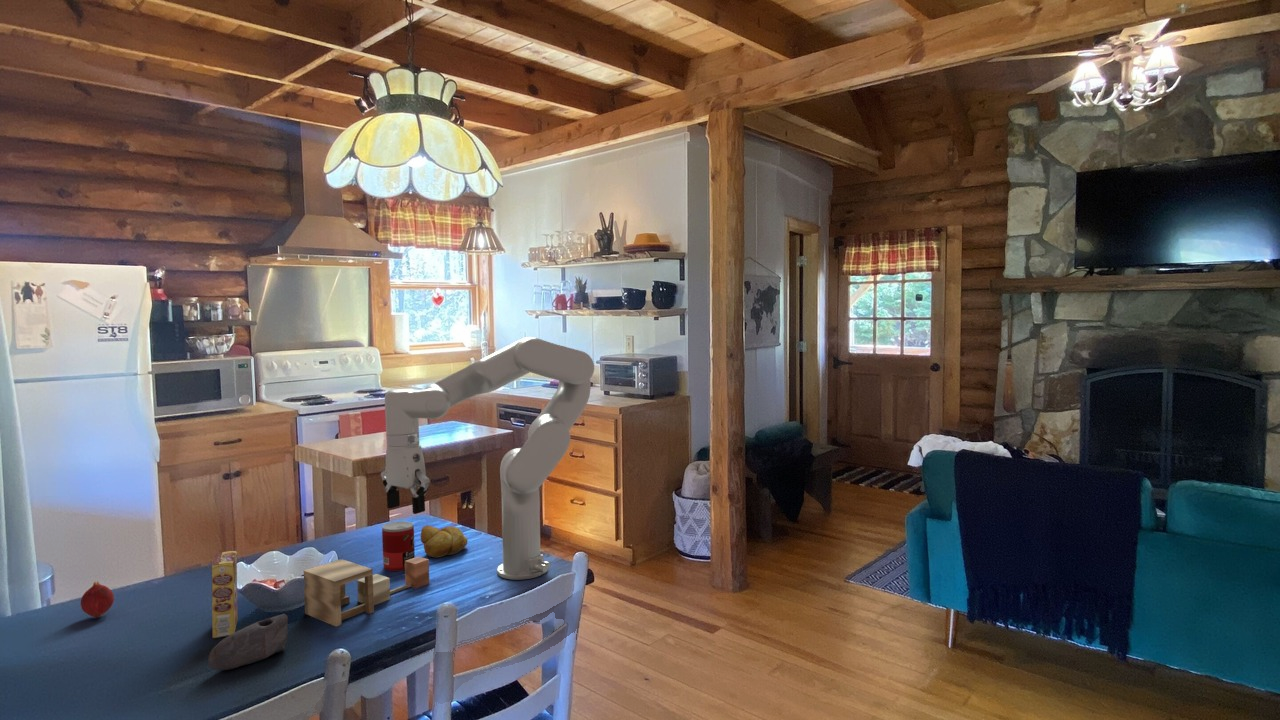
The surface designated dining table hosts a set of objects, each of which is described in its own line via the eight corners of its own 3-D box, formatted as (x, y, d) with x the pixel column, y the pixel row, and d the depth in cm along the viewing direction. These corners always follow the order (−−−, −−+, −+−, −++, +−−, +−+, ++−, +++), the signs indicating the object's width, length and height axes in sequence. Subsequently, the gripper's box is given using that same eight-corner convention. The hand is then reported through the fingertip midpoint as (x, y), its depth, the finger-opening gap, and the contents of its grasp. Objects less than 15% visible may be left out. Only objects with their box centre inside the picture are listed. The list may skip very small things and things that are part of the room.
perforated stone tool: (214, 681, 126) (212, 643, 126) (203, 672, 130) (201, 635, 129) (298, 650, 138) (297, 615, 138) (286, 643, 141) (285, 609, 141)
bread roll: (461, 544, 204) (461, 516, 203) (475, 552, 196) (475, 524, 195) (417, 553, 196) (417, 524, 196) (430, 562, 188) (429, 533, 188)
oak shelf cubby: (373, 612, 156) (372, 569, 155) (336, 626, 148) (334, 581, 148) (342, 600, 163) (341, 559, 162) (305, 613, 155) (303, 570, 155)
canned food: (409, 571, 181) (408, 529, 181) (378, 571, 181) (377, 529, 181) (419, 561, 189) (417, 521, 188) (389, 561, 189) (388, 521, 188)
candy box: (236, 635, 145) (233, 562, 144) (212, 639, 143) (209, 565, 142) (239, 618, 153) (236, 549, 152) (216, 622, 151) (213, 552, 150)
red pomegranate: (120, 614, 156) (118, 579, 156) (91, 624, 151) (89, 588, 150) (105, 610, 158) (103, 575, 158) (75, 620, 153) (73, 584, 153)
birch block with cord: (430, 583, 173) (430, 559, 172) (371, 606, 159) (370, 580, 159) (417, 579, 175) (417, 556, 175) (358, 601, 162) (357, 576, 162)
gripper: (439, 440, 169) (441, 511, 170) (393, 435, 179) (396, 501, 180) (412, 445, 163) (416, 518, 164) (367, 439, 172) (371, 508, 173)
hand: (406, 509), depth 172 cm, fingers open, 9 cm apart
